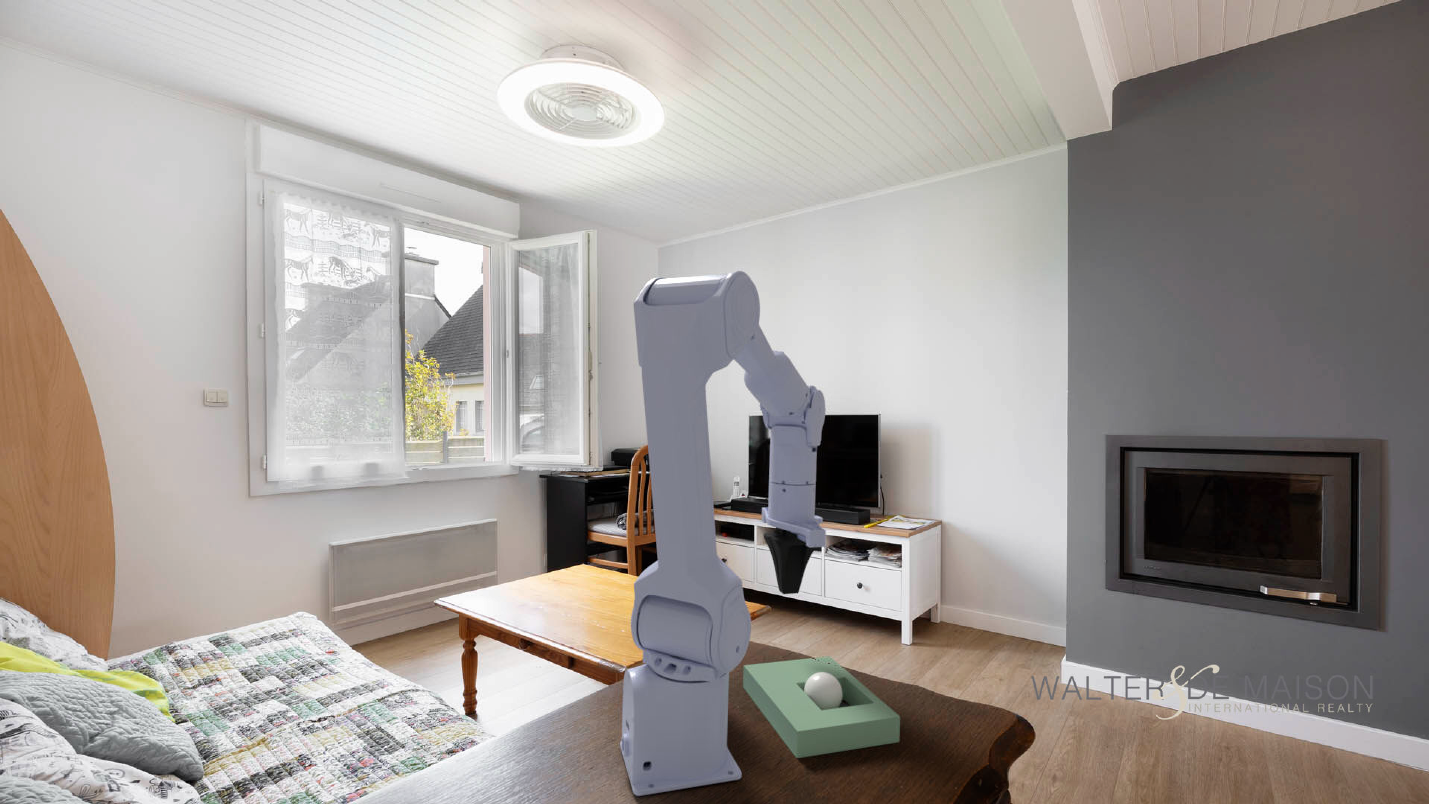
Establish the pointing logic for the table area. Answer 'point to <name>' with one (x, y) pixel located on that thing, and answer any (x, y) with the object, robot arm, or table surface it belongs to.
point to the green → (805, 722)
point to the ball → (824, 690)
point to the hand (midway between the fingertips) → (788, 592)
